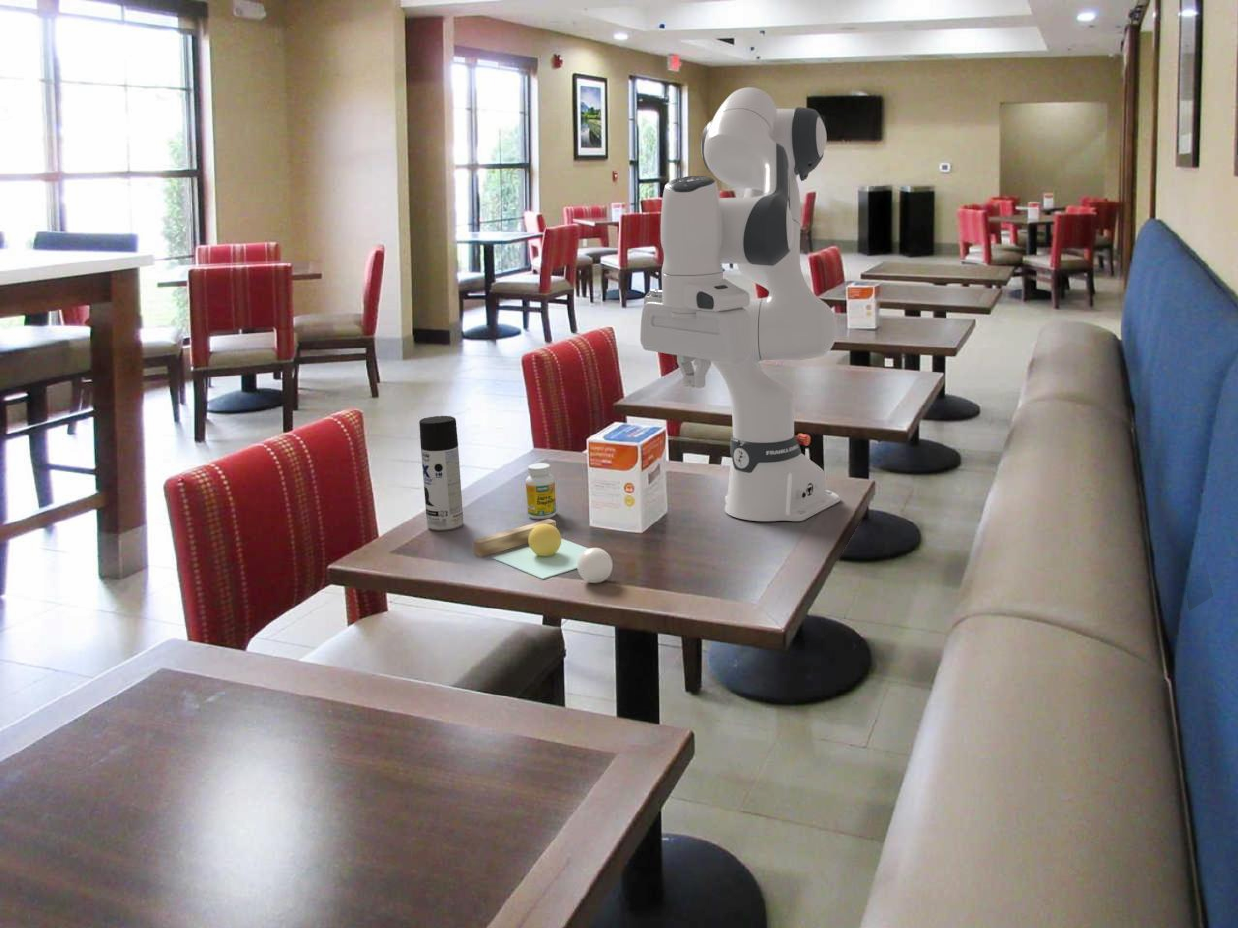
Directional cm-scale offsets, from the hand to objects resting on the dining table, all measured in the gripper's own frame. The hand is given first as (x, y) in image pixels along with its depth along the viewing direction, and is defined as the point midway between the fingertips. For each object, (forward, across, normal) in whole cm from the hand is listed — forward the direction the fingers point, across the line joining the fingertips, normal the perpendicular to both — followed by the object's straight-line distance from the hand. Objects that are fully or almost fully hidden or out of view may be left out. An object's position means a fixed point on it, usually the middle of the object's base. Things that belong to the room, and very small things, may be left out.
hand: (694, 386), depth 172 cm
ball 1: (+28, -28, -9) cm, 41 cm away
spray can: (+31, -54, -12) cm, 64 cm away
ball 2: (+28, -12, -11) cm, 33 cm away
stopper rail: (+31, -36, -9) cm, 48 cm away
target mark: (+31, -26, -9) cm, 42 cm away
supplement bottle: (+31, -46, +4) cm, 56 cm away
